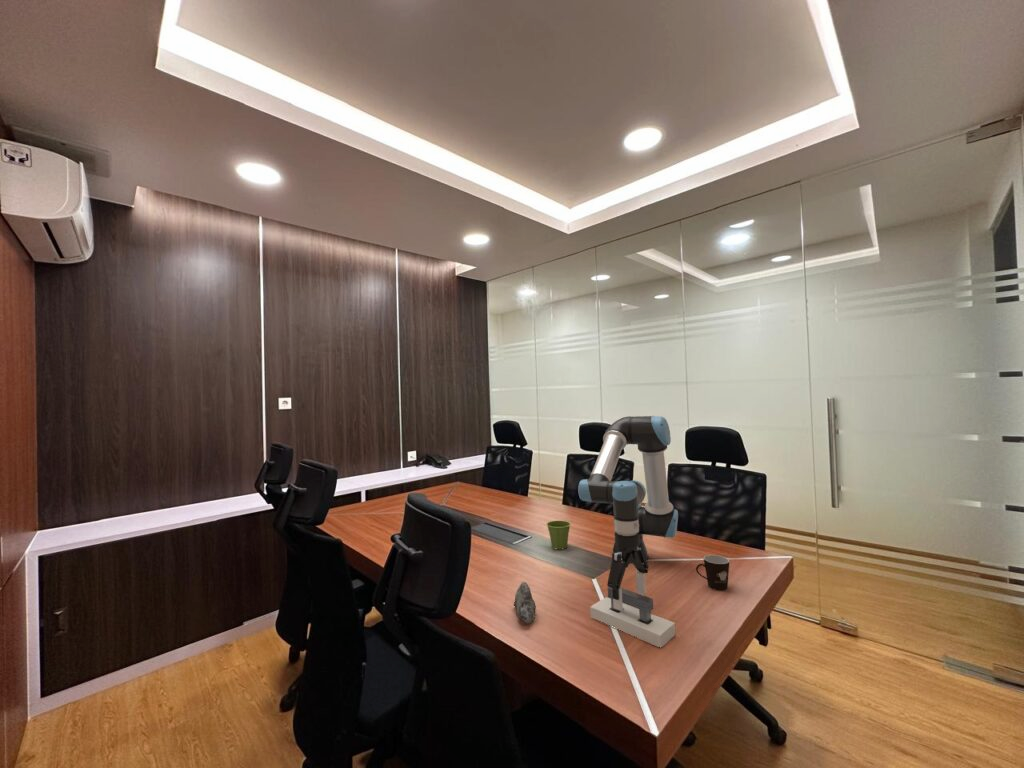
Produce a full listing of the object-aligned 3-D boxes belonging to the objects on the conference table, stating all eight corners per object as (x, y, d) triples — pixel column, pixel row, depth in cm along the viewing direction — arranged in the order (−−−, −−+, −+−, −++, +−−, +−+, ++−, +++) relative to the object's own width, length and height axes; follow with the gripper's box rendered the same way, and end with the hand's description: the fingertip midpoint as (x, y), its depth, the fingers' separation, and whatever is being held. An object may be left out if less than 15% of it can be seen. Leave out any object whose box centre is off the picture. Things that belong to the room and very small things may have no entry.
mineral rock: (528, 629, 128) (527, 597, 128) (499, 622, 133) (498, 590, 134) (545, 610, 139) (544, 580, 140) (517, 604, 144) (516, 575, 145)
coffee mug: (728, 583, 155) (727, 556, 155) (732, 593, 146) (731, 564, 147) (695, 579, 158) (693, 553, 159) (697, 589, 150) (695, 561, 151)
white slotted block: (590, 617, 134) (590, 606, 134) (606, 607, 140) (606, 596, 140) (660, 648, 116) (660, 635, 116) (675, 634, 122) (674, 622, 123)
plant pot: (575, 545, 200) (574, 521, 201) (565, 553, 190) (564, 528, 191) (554, 541, 207) (553, 518, 207) (542, 549, 197) (541, 525, 197)
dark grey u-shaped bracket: (609, 619, 132) (607, 587, 133) (614, 616, 134) (613, 584, 135) (649, 636, 122) (648, 602, 122) (654, 632, 124) (652, 598, 124)
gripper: (615, 545, 118) (618, 621, 117) (657, 524, 135) (660, 590, 134) (593, 539, 123) (596, 612, 123) (636, 520, 141) (639, 583, 140)
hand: (630, 601), depth 128 cm, fingers open, 13 cm apart
